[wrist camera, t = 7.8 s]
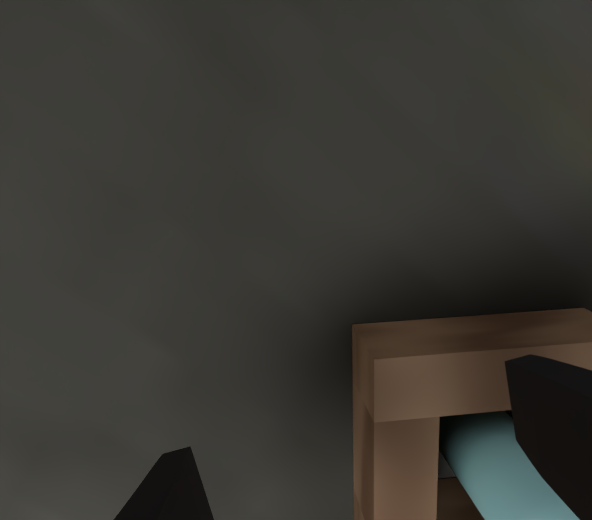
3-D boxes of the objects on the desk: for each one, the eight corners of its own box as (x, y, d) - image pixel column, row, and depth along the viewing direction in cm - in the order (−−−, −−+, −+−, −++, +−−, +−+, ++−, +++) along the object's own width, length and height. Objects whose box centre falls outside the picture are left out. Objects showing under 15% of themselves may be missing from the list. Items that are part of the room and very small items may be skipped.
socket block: (583, 307, 23) (644, 337, 19) (564, 511, 25) (615, 569, 22) (351, 324, 22) (373, 359, 18) (353, 534, 24) (374, 600, 21)
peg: (488, 378, 23) (594, 479, 16) (509, 438, 24) (617, 558, 17) (420, 407, 23) (498, 521, 16) (443, 466, 24) (526, 598, 17)
